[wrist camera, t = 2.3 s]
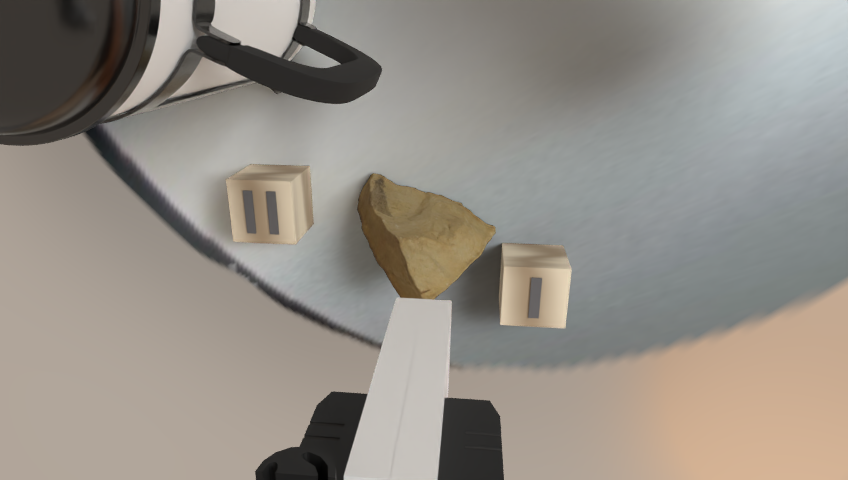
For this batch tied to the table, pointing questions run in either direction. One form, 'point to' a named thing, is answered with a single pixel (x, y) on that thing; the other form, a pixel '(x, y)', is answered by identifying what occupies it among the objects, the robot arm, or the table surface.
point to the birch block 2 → (534, 285)
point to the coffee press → (157, 59)
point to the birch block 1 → (270, 203)
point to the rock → (419, 236)
